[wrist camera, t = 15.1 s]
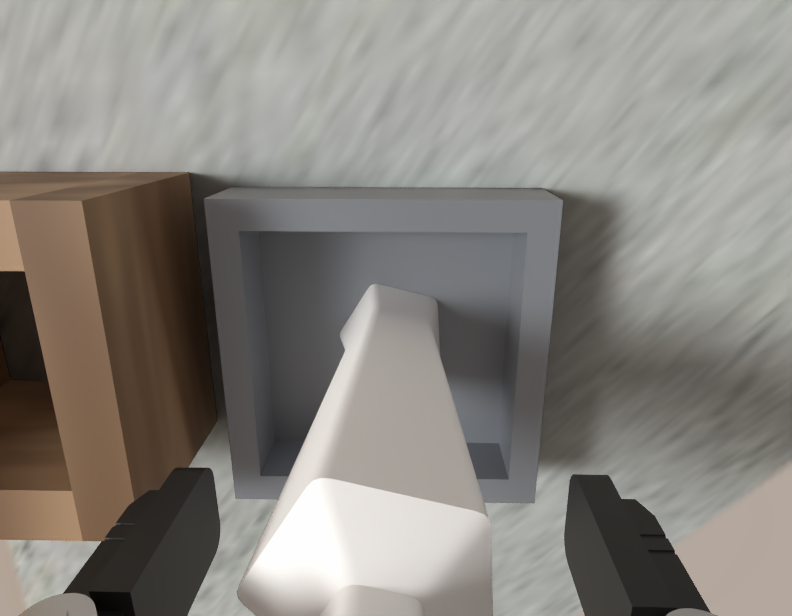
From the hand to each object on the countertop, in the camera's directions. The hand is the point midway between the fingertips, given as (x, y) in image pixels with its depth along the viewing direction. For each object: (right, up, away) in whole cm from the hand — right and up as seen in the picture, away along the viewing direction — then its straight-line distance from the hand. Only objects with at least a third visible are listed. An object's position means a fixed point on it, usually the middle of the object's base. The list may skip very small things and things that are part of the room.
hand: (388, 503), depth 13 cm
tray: (0, +3, +9) cm, 10 cm away
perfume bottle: (0, +3, +9) cm, 10 cm away
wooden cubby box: (-12, +4, +9) cm, 16 cm away
